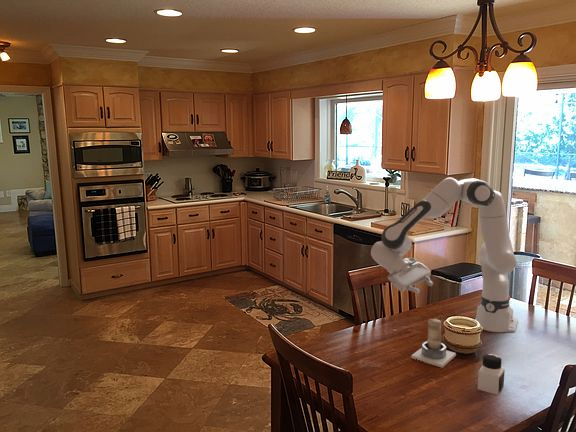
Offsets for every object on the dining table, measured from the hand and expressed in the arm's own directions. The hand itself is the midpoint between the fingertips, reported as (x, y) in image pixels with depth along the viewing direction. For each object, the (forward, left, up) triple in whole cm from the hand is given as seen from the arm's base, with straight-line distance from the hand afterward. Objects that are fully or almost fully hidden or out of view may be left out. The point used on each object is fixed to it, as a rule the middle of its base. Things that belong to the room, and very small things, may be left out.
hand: (425, 288), depth 201 cm
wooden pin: (+8, +8, -24) cm, 26 cm away
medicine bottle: (+18, +34, -26) cm, 46 cm away
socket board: (+8, +8, -25) cm, 28 cm away
